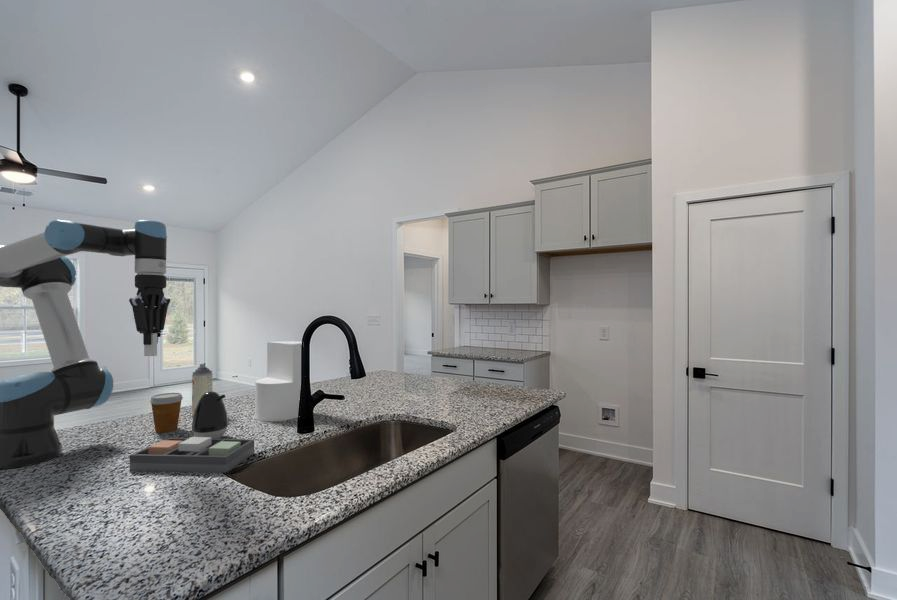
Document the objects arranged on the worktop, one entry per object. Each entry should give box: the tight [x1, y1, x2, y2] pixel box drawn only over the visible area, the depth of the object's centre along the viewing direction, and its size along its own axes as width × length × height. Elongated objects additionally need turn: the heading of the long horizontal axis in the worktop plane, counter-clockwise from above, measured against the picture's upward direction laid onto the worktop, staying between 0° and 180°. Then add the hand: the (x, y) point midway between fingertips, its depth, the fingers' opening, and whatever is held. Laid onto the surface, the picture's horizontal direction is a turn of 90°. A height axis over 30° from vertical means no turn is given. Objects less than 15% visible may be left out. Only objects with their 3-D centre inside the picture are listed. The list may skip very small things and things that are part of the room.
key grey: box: [178, 436, 211, 451], centre depth 116 cm, size 6×6×2 cm
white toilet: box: [254, 340, 303, 422], centre depth 164 cm, size 17×17×28 cm
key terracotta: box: [148, 439, 183, 455], centre depth 117 cm, size 6×6×2 cm
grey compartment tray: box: [129, 437, 255, 474], centre depth 116 cm, size 26×14×4 cm, turn 86°
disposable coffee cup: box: [149, 392, 184, 434], centre depth 145 cm, size 10×10×12 cm
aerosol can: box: [191, 363, 213, 418], centre depth 164 cm, size 7×7×20 cm
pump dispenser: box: [191, 390, 229, 439], centre depth 136 cm, size 10×10×15 cm
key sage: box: [209, 441, 241, 456], centre depth 116 cm, size 6×6×2 cm
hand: (150, 355), depth 122 cm, fingers closed
